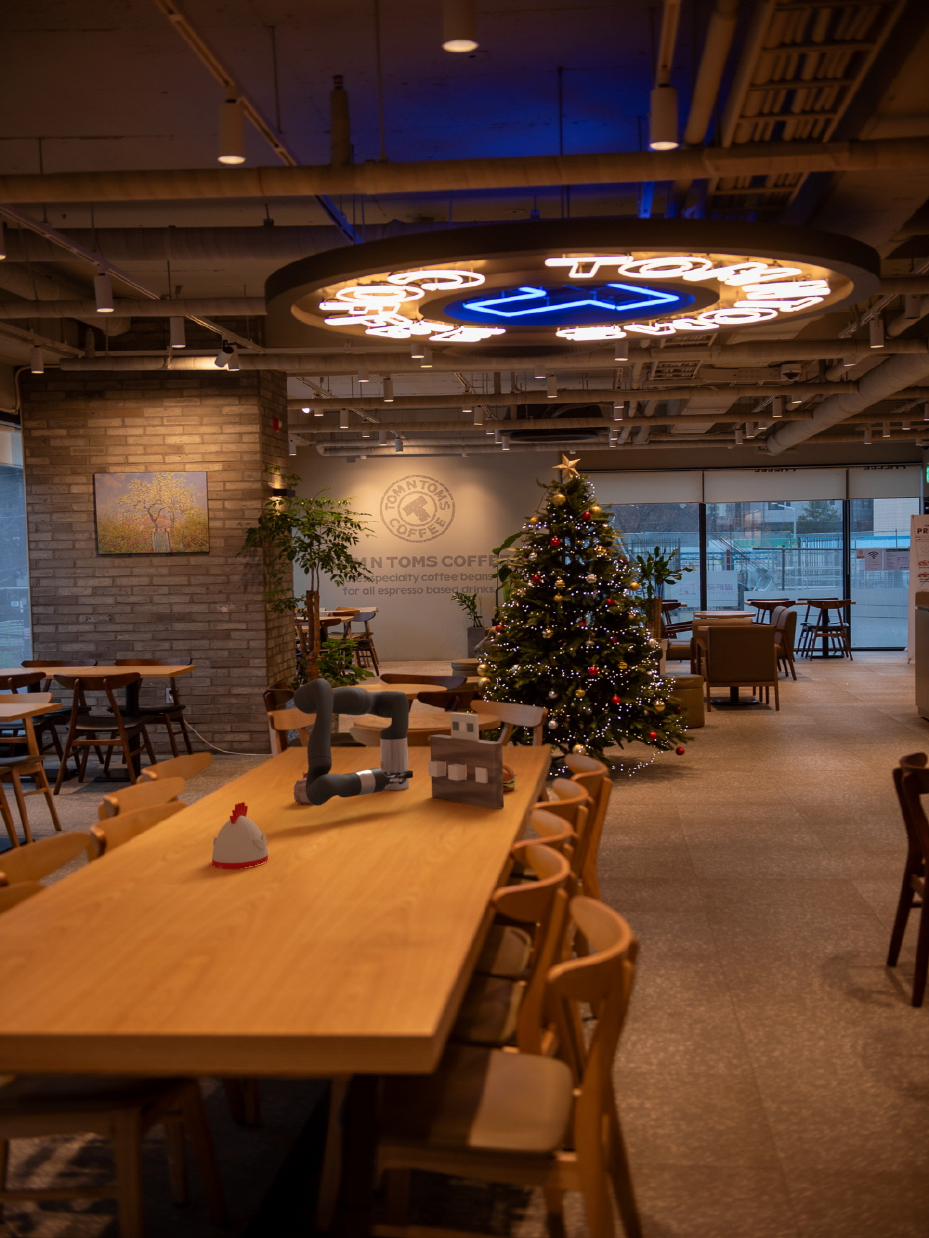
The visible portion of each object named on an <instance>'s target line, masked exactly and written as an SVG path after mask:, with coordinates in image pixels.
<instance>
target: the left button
mask: <svg viewBox="0 0 929 1238" xmlns="http://www.w3.org/2000/svg"><path fill="white" fill-rule="evenodd" d="M445 768H446V761H445V762H443V761H431V760H430V761H427V770H428V771H427V775H428V776H430V777H431V776H434V777H440V776H446V775H445Z"/></svg>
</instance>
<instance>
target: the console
mask: <svg viewBox="0 0 929 1238" xmlns="http://www.w3.org/2000/svg"><path fill="white" fill-rule="evenodd" d="M429 739H430V740H429V741H430V742H429V743H430V744H429V745H430V761H443V762H445V775H446V776H440V777H434V776H430V777H431V797H432V798H437V799H440V800H441V799H442V800H447V801H451V802H456V803H461V804H466V805H471V806H476V807H482V808H487V809H492V810H497V809H502V808H504V806H505V800H504V797H505V796H504V791H503V763H504V762H503V742H500V741H492V740H485V739H479V741H473V740H465V739H457V738H451V735H446V734H433V735H430V736H429ZM452 764H462V765H466V779H464V780H458V781H457V780H451V779H448V765H452ZM475 767H486V768H488V783H481V782H476V776H475Z"/></svg>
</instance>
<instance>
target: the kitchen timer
mask: <svg viewBox="0 0 929 1238" xmlns="http://www.w3.org/2000/svg"><path fill="white" fill-rule="evenodd" d="M248 807H249V806H248V805H246V802H243V801H242V802H238V803H237V804H234V809H232V810H231V812H232V815H229V819H228V820H227V821H226V822H225V823H224V824H223V825H222V827H221V828H220V830H219V832H218V834H217V837H216V836H214V837H213V841H212V842H213V843H212V844H213V845H212V846H213V850H212V856H211V861H212V862H211V865H212V867H214V866H215V867H214V868H216V869H221V868H222V869H221V870H241V869H240V868H245V867H249V866H255V865H258V864H261V863H263V862H265V861H267V860H268V861H269V852H268V847H267V837H266V834H265V833H262V831H261V830H260V828H259V827H258V826H257V824H255V822H254V821H252V820H251V819H250V818H249V817H247V815H248V814H247V813H248V809H249V808H248ZM268 861H267V862H268ZM245 869H246V868H245Z"/></svg>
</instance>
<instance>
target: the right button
mask: <svg viewBox="0 0 929 1238" xmlns="http://www.w3.org/2000/svg"><path fill="white" fill-rule="evenodd" d="M475 776H476V782H481V783H488V768H486V767H475Z"/></svg>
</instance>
